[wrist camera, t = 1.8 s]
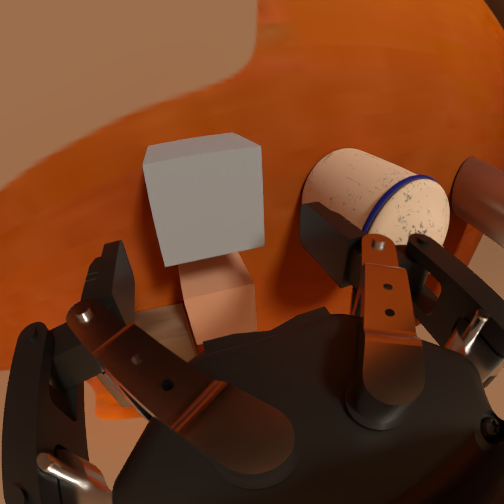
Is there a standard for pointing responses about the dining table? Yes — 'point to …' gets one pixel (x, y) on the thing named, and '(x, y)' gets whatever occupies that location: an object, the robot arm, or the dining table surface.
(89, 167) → the dining table surface
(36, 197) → the dining table surface
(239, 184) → the slate block
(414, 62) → the dining table surface
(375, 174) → the teacup with lid
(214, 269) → the terracotta block
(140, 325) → the walnut plinth
